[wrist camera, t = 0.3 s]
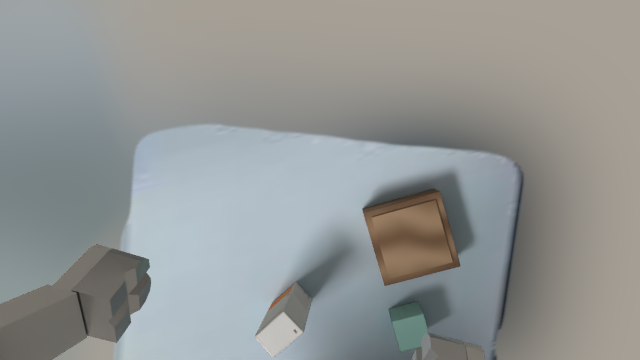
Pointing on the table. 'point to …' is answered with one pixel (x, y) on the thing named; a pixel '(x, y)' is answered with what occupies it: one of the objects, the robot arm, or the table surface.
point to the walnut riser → (411, 237)
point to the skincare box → (284, 320)
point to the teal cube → (408, 325)
